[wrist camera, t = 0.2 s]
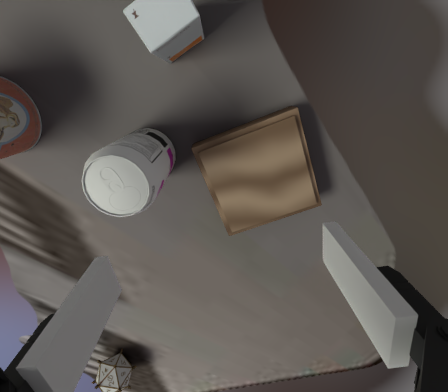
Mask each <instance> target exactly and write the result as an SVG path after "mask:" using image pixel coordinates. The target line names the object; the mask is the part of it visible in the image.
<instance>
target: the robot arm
mask: <svg viewBox="0 0 448 392" xmlns="http://www.w3.org/2000/svg"><path fill="white" fill-rule="evenodd" d="M323 262H324V263H325V265H326V267H327V268H328V270H329V272H330V273H331V275H332V277H333V278H334V280H335V282H336V283H337V285H338V287H339V288H340V290H341V291H342V293H343V295H344V296H345V298H346V300H347V301H348V303H349V305H350V306H351V308H352V310H353V311H354V313H355V315H356V316H357V318H358V320H359V321H360V323H361V324H362V326H363V328H364V329H365V331H366V333H367V334H368V336H369V338H370V339H371V341H372V343H373V344H374V346H375V348H376V349H377V351H378V353H379V354H380V356H381V358H382V359H383V361H384V362H385V364H386V366H387V367H388V368H395V367H404V366H408V364H409V359H410V356H411V358H412V359H413V361H414V362H415V363H416V365H417V366H418V368H417V372H416V377H415V381H414V383H415V390H414V392H448V319H445V318H444V317H443V316H442V315H441V314H440V313H439V312H438V311H437V310H436V309H435V308H434V307H433V306H432V305H431V304H430V303H429V302H428V301H427V300H426V299H425V298H424V297H423V296H422V295H421V294H420V293H419V292H418V291H417V290H415V288H414V287H413V286H412V285H411V284H410V283H408V281H407V280H406V279H405V278H404V277H403V276H402V274H401V273H399V272H398V271H396V270H394V269H393V268H391V267H389V266H383V267H376V266H375V265H374V264H373V263H372V262H371V261H370V260H369V259H368V257H367V256H366V255H365V254H364V253H363V252H362V251H361V249H360V248H359V247H358V246H357V245H356V244H355V243H354V241H353V240H352V239H351V238H350V237H349V236H348V235H347V234H346V232H345V231H344V230H343V229H342V228H341V227H340V226H339V224H338V223H337V222H336V221H335V222H328V223H323ZM121 291H122V289H121V286H120V284H119V282H118V279H117V277H116V274H115V272H114V270H113V267H112V265H111V263H110V260H109V258H108V256H102V257H96V258H95V259H94V260H93V262H92V263H91V265H90V266H89V267H88V269H87V270H86V271H85V273H84V274H83V276H82V277H81V278H80V280H79V281H78V283H77V284H76V285H75V287H74V288H73V290H72V291H71V292H70V294H69V295H68V296H67V298H66V299H65V301H64V302H63V303H62V305H61V306H60V308H59V309H58V310H57V312H56V313H55V314H51V315H49V316H48V317H47V318H46V319H45V320H44V321H43V322H42V323H40V325H39V326H38V327H37V329H36V330H35V331H34V333H33V335H32V336H31V337H30V338H29V339H28V341H27V343H26V344H25V345H24V346H23V347H22V349H21V350H20V351H19V353H18V354H17V355H16V357H15V358H14V359H13V361H12V362H11V363H10V365H9V366H8V367H7V369H6V370H5V371H3V370H2V369H1V368H0V392H74V390H75V388H76V386H77V384H78V381H79V380H80V377H81V375H82V373H83V371H84V369H85V367H86V365H87V363H88V361H89V358H90V356H91V354H92V352H93V350H94V348H95V346H96V344H97V342H98V339H99V337H100V335H101V333H102V331H103V329H104V327H105V325H106V323H107V320H108V318H109V316H110V314H111V312H112V310H113V308H114V306H115V304H116V301H117V299H118V297H119V295H120V293H121Z"/></svg>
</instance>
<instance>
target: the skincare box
mask: <svg viewBox="0 0 448 392" xmlns="http://www.w3.org/2000/svg"><path fill="white" fill-rule="evenodd" d="M123 13H124V14H125V15H126V17H127V18H128V20H129V21H130V23H131V24H132V26H133V27H134V29H135V30H136V32H137V33H138V35H139V36H140V38H141V39H142V41H143V42H144V44H145V45H146V47H147V48H148V50H149V51H150V53H152V54H154V55H156V56H157V57H159V58H161V59H163V60H164V61H166V62H168V63H172V62H173V61H174V60H176V59H177V58H178V57H180V56H181V55H182V54H184V53H185V52H186V51H188V50H189V49H191V48H192V47H193V46H195V45H196V44H198V43H199V42H201V41H202V40H203V39H204V34H203V29H202V24H201V19H200V14H199V12H198V11H197V9H196V7H195V5H194V3H193V1H192V0H135V1H134V2H132V3H131V4H130V5H129V6H128V7H126V8H125V9H124V10H123Z"/></svg>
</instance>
